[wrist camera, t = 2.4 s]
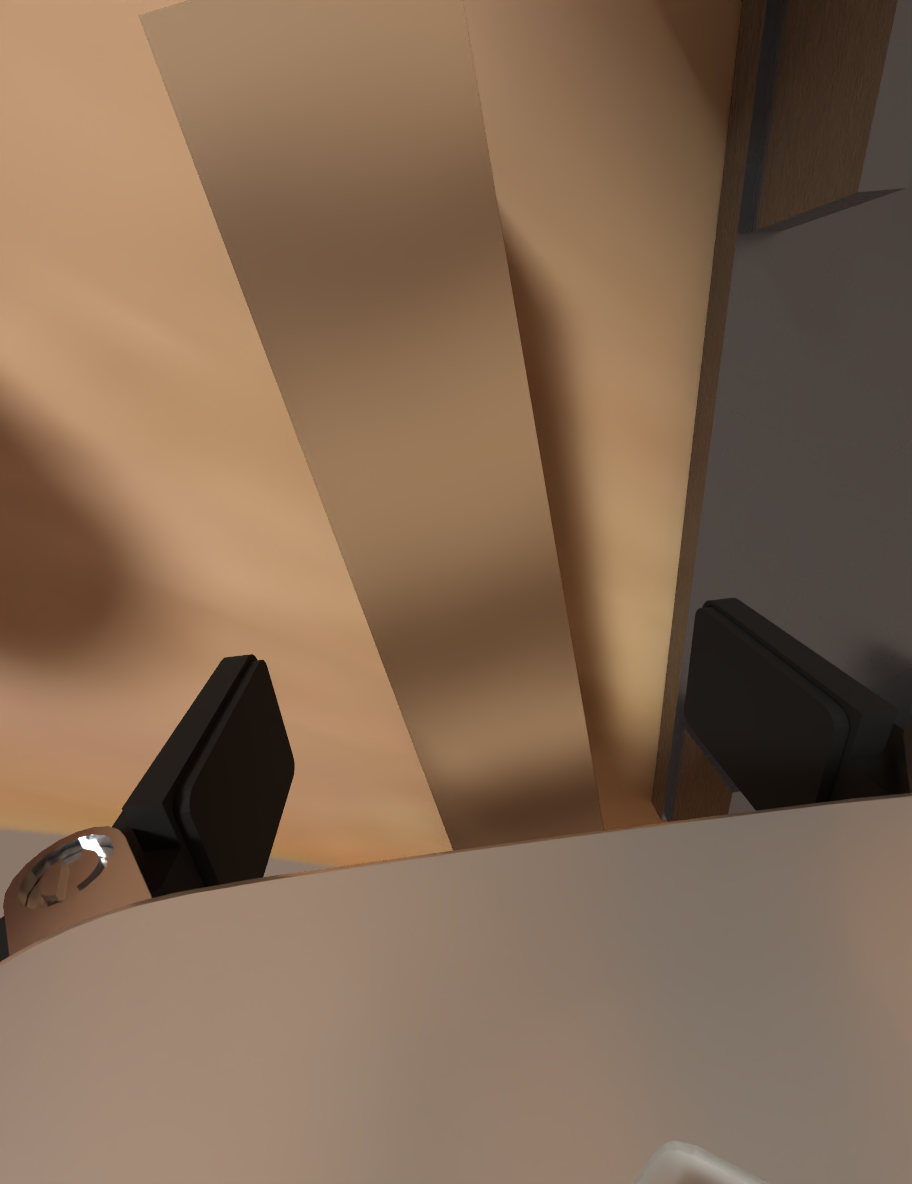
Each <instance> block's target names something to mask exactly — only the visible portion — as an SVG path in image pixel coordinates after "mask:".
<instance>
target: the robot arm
mask: <svg viewBox="0 0 912 1184" xmlns="http://www.w3.org/2000/svg"><path fill="white" fill-rule="evenodd" d="M897 711H898V709H897V708H896V707H894V706H893V705H891V704H890V703H888V702H887V701H885V700H884V699H883V698H881V697H880V696H878V695H877V694H875V693H874V692H872V691H871V690H869V689H868V688H867V687H865V686H864V685H862V684H861V683H859V682H858V681H856V680H855V679H853V678H852V677H851V676H849V675H848V674H846V673H845V672H843V671H842V670H840V669H839V668H837V667H836V666H835V665H833V664H832V663H830V662H829V661H827V660H826V659H824V658H823V657H821V656H820V655H819V654H817V653H816V652H814V651H813V650H811V649H810V648H808V647H807V646H806V645H804V644H803V643H801V642H800V641H798V640H797V639H795V638H794V637H792V636H791V635H790V634H788V633H787V632H785V631H784V630H782V629H781V628H779V627H778V626H776V625H775V624H774V623H772V622H771V621H769V620H768V619H766V618H765V617H763V616H762V615H760V614H759V613H758V612H756V611H755V610H753V609H752V608H750V607H749V606H747V605H746V604H744V603H743V602H742V601H740V600H739V599H737V598H726V599H717V600H709V601H706V602H705V603H704V604H703V606H702V608H699V609H698V610H697V611H696V614H695V620H694V629H693V637H692V646H691V654H690V663H689V671H688V680H687V688H686V697H685V705H684V714H685V718H686V721H687V723H688V725H689V726H690V728H691V729H692V730H693V732H694V733H695V734H696V735H697V737H698V738H699V739H700V740H701V742H702V743H703V744H704V746H705V747H706V748H707V749H708V751H709V752H710V753H711V754H712V756H713V757H714V758H715V760H716V761H717V762H718V763H719V765H720V766H721V767H722V768H723V770H724V771H725V772H726V774H727V775H728V776H729V777H730V779H731V780H732V781H733V782H734V784H735V785H736V786H737V788H738V789H739V790H740V791H741V793H742V794H743V795H744V796H745V798H746V799H747V800H748V802H749V803H750V804H751V805H752V807H753V808H754V809H755V810H756V811H750V812H742V813H734V814H727V815H719V816H711V817H703V818H695V819H687V820H679V821H672V822H664V823H656V824H648V825H641V826H633V827H625V828H618V829H610V830H603V831H595V832H588V833H580V834H573V835H565V836H558V837H550V838H543V839H535V840H528V841H521V842H513V843H506V844H498V845H491V846H483V847H476V848H469V849H461V850H454V851H447V852H440V853H433V854H426V855H419V856H411V857H404V858H397V859H390V860H383V861H376V862H368V863H361V864H354V865H347V866H340V867H333V868H325V869H318V870H311V871H304V872H298V873H290V874H284V875H276V876H270V877H263V876H264V873H265V869H266V866H267V863H268V859H269V856H270V853H271V849H272V846H273V843H274V839H275V836H276V833H277V829H278V826H279V823H280V819H281V816H282V813H283V809H284V806H285V803H286V799H287V796H288V793H289V789H290V786H291V783H292V779H293V776H294V758H293V754H292V751H291V747H290V744H289V740H288V737H287V733H286V730H285V726H284V723H283V720H282V716H281V713H280V709H279V706H278V702H277V699H276V695H275V692H274V688H273V685H272V681H271V678H270V675H269V671H268V668H267V665H266V663H265V661H264V660H257V658H256V657H255V656H254V655H253V654H251V655H243V656H234V657H226V658H224V659H223V660H222V661H221V662H220V664H219V665H218V667H217V668H216V670H215V671H214V673H213V674H212V676H211V677H210V679H209V680H208V681H207V683H206V684H205V686H204V687H203V689H202V690H201V692H200V693H199V695H198V696H197V698H196V699H195V701H194V702H193V704H192V705H191V707H190V708H189V710H188V711H187V713H186V714H185V716H184V717H183V719H182V720H181V722H180V723H179V724H178V726H177V727H176V729H175V730H174V732H173V733H172V735H171V736H170V738H169V739H168V741H167V742H166V744H165V745H164V747H163V748H162V750H161V751H160V753H159V754H158V756H157V757H156V759H155V760H154V762H153V763H152V764H151V766H150V767H149V769H148V770H147V772H146V773H145V775H144V776H143V778H142V779H141V781H140V782H139V784H138V785H137V787H136V788H135V790H134V791H133V793H132V794H131V796H130V797H129V799H128V800H127V802H126V803H125V804H124V806H123V807H122V810H123V811H122V813H121V814H120V816H119V817H118V819H117V820H116V822H115V823H114V825H113V826H112V827H109V826H105V827H93V828H89V829H86V830H82V831H79V832H76V833H74V834H72V835H69V836H67V837H65V838H63V839H61V840H59V841H57V842H56V843H54V844H53V845H51V846H49V847H48V848H47V849H45V850H43V851H42V852H41V853H39V854H38V855H37V856H36V857H34V858H33V859H32V860H31V861H30V862H29V863H27V864H26V865H25V867H23V869H22V870H21V871H20V872H19V873H18V874H17V875H16V876H15V878H14V879H13V880H12V882H11V884H10V886H9V888H8V889H7V891H6V893H5V899H4V905H3V908H4V916H3V917H2V918H0V1184H912V723H911V724H910V725H908V726H907V727H905V730H903V729H902V728H900V727H899V726H898V725H896V724H895V723H894V720H895V717H896V714H897Z"/></svg>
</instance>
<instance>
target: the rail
mask: <svg viewBox="0 0 912 1184" xmlns="http://www.w3.org/2000/svg"><path fill="white" fill-rule="evenodd" d="M139 19H140V21H141V24H142V26H143V29H144V32H145V34H146V37H147V40H148V42H149V45H150V48H151V50H152V53H153V56H154V58H155V61H156V64H157V66H158V69H159V72H160V74H161V77H162V79H163V82H164V85H165V87H166V90H167V93H168V95H169V98H170V101H171V103H172V106H173V109H174V111H175V114H176V117H177V119H178V122H179V125H180V127H181V130H182V132H183V135H184V138H185V140H186V143H187V146H188V148H189V151H190V154H191V156H192V159H193V162H194V164H195V167H196V170H197V172H198V175H199V178H200V180H201V183H202V185H203V188H204V191H205V193H206V196H207V199H208V201H209V204H210V207H211V209H212V212H213V215H214V217H215V220H216V223H217V225H218V228H219V231H220V233H221V236H222V239H223V241H224V244H225V246H226V249H227V252H228V254H229V257H230V260H231V262H232V265H233V268H234V270H235V273H236V276H237V278H238V281H239V284H240V286H241V289H242V292H243V294H244V297H245V299H246V302H247V305H248V307H249V310H250V313H251V315H252V318H253V321H254V323H255V326H256V329H257V331H258V334H259V337H260V339H261V342H262V345H263V347H264V350H265V352H266V355H267V358H268V360H269V363H270V366H271V368H272V371H273V374H274V376H275V379H276V382H277V384H278V387H279V390H280V392H281V395H282V398H283V400H284V403H285V405H286V408H287V411H288V413H289V416H290V419H291V421H292V424H293V427H294V429H295V432H296V435H297V437H298V440H299V443H300V445H301V448H302V451H303V453H304V456H305V458H306V461H307V464H308V466H309V469H310V472H311V474H312V477H313V480H314V482H315V485H316V488H317V490H318V493H319V496H320V498H321V501H322V504H323V506H324V509H325V512H326V514H327V517H328V519H329V522H330V525H331V527H332V530H333V533H334V535H335V538H336V541H337V543H338V546H339V549H340V551H341V554H342V557H343V559H344V562H345V565H346V567H347V570H348V572H349V575H350V578H351V580H352V583H353V586H354V588H355V591H356V594H357V596H358V599H359V602H360V604H361V607H362V610H363V612H364V615H365V618H366V620H367V623H368V625H369V628H370V631H371V633H372V636H373V639H374V641H375V644H376V647H377V649H378V652H379V655H380V657H381V660H382V663H383V665H384V668H385V671H386V673H387V676H388V678H389V681H390V684H391V686H392V689H393V692H394V694H395V697H396V700H397V702H398V705H399V708H400V710H401V713H402V716H403V718H404V721H405V724H406V726H407V729H408V731H409V734H410V737H411V739H412V742H413V745H414V747H415V750H416V753H417V755H418V758H419V761H420V763H421V766H422V769H423V771H424V774H425V777H426V779H427V782H428V784H429V787H430V790H431V792H432V795H433V798H434V800H435V803H436V806H437V808H438V811H439V814H440V816H441V819H442V822H443V824H444V827H445V830H446V832H447V835H448V838H449V840H450V843H451V845H452V848H453V851H454V850H461V849H469V848H476V847H483V846H491V845H498V844H506V843H513V842H521V841H528V840H535V839H543V838H550V837H558V836H565V835H573V834H580V833H588V832H595V831H603V830H604V827H603V822H602V816H601V810H600V804H599V798H598V792H597V786H596V780H595V775H594V769H593V763H592V757H591V751H590V745H589V739H588V733H587V728H586V722H585V716H584V710H583V704H582V698H581V692H580V686H579V681H578V675H577V669H576V663H575V657H574V651H573V645H572V639H571V634H570V628H569V622H568V616H567V610H566V604H565V598H564V592H563V587H562V581H561V575H560V569H559V563H558V557H557V551H556V545H555V540H554V534H553V528H552V522H551V516H550V510H549V504H548V498H547V493H546V487H545V481H544V475H543V469H542V463H541V457H540V451H539V446H538V440H537V434H536V428H535V422H534V416H533V410H532V404H531V399H530V393H529V387H528V381H527V375H526V369H525V363H524V357H523V352H522V346H521V340H520V334H519V328H518V322H517V316H516V310H515V305H514V299H513V293H512V287H511V281H510V275H509V269H508V263H507V258H506V252H505V246H504V240H503V234H502V228H501V222H500V216H499V211H498V205H497V199H496V193H495V187H494V181H493V175H492V169H491V164H490V158H489V152H488V146H487V140H486V134H485V128H484V122H483V117H482V111H481V105H480V99H479V93H478V87H477V81H476V75H475V70H474V64H473V58H472V52H471V46H470V40H469V34H468V28H467V23H466V17H465V11H464V5H463V0H188V1H185V2H182V3H178V4H175V5H172V6H168V7H165V8H162V9H158V10H155V11H152V12H148V13H145V14H142V15H139Z"/></svg>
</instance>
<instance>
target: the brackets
mask: <svg viewBox="0 0 912 1184" xmlns="http://www.w3.org/2000/svg"><path fill="white" fill-rule="evenodd" d="M726 598H737V599H739V600H740V601H742V602H743V603H744V604H746V605H747V606H749V607H750V608H752V609H753V610H755V611H756V612H758V613H759V614H760V615H762V616H763V617H765V618H766V619H768V620H769V621H771V622H772V623H774V624H775V625H776V626H778V627H779V628H781V629H782V630H784V631H785V632H787V633H788V634H790V635H791V636H792V637H794V638H795V639H797V640H798V641H800V642H801V643H803V644H804V645H806V646H807V647H808V648H810V649H811V650H813V651H814V652H816V653H817V654H819V655H820V656H821V657H823V658H824V659H826V660H827V661H829V662H830V663H832V664H833V665H835V666H836V667H837V668H839V669H840V670H842V671H843V672H845V673H846V674H848V675H849V676H851V677H852V678H853V679H855V680H856V681H858V682H859V683H861V684H862V685H864V686H865V687H867V688H868V689H869V690H871V691H872V692H874V693H875V694H877V695H878V696H880V697H881V698H883V699H884V700H885V701H887V702H888V703H890V704H891V705H893V706H894V707H896V708H897V709H898V711H897V714H896V717H895V720H894V723H895V724H896V725H898V726H899V727H900V728H902V729H903V730H905V727H907V726H908V725H910V724H911V723H912V0H743V3H742V12H741V21H740V30H739V39H738V47H737V56H736V65H735V74H734V83H733V91H732V100H731V109H730V118H729V127H728V136H727V144H726V153H725V162H724V171H723V180H722V189H721V197H720V206H719V215H718V224H717V233H716V241H715V250H714V259H713V268H712V277H711V286H710V294H709V303H708V312H707V321H706V330H705V338H704V347H703V356H702V365H701V374H700V383H699V391H698V400H697V409H696V418H695V427H694V436H693V444H692V453H691V462H690V471H689V480H688V488H687V497H686V506H685V515H684V524H683V533H682V541H681V550H680V559H679V568H678V577H677V585H676V594H675V603H674V612H673V621H672V630H671V638H670V647H669V656H668V665H667V674H666V683H665V691H664V700H663V709H662V718H661V727H660V735H659V744H658V753H657V762H656V771H655V780H654V788H653V797H652V804H653V806H654V808H655V809H656V811H657V813H658V815H659V817H660V819H661V820H662V821H666V820H667V821H668V822H672V821H679V820H687V819H695V818H703V817H711V816H719V815H727V814H734V813H742V812H750V811H756V810H755V809H754V808H753V807H752V805H751V804H750V803H749V802H748V800H747V799H746V798H745V796H744V795H743V794H742V793H741V791H740V790H739V789H738V788H737V786H736V785H735V784H734V782H733V781H732V780H731V779H730V777H729V776H728V775H727V774H726V772H725V771H724V770H723V768H722V767H721V766H720V765H719V763H718V762H717V761H716V760H715V758H714V757H713V756H712V754H711V753H710V752H709V751H708V749H707V748H706V747H705V746H704V744H703V743H702V742H701V740H700V739H699V738H698V737H697V735H696V734H695V733H694V732H693V730H692V729H691V728H690V726H689V725H688V723H687V721H686V718H685V714H684V705H685V697H686V688H687V680H688V671H689V663H690V654H691V646H692V637H693V629H694V620H695V614H696V611H697V610H698V609H699V608H702V606H703V604H704V603H705V602H706V601H709V600H717V599H726Z"/></svg>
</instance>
